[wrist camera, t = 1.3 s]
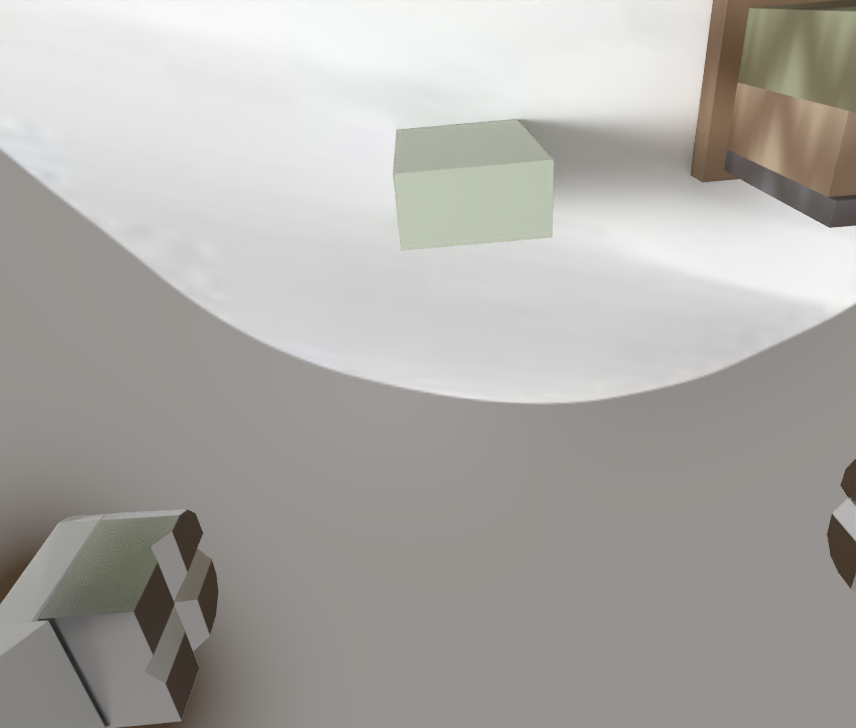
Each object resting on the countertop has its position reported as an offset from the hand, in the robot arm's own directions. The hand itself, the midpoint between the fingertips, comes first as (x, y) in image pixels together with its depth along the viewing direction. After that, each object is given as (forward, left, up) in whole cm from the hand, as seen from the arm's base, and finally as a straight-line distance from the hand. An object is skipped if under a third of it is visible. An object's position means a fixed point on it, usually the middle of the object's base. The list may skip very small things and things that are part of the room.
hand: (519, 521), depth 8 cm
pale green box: (+1, +1, -27) cm, 27 cm away
